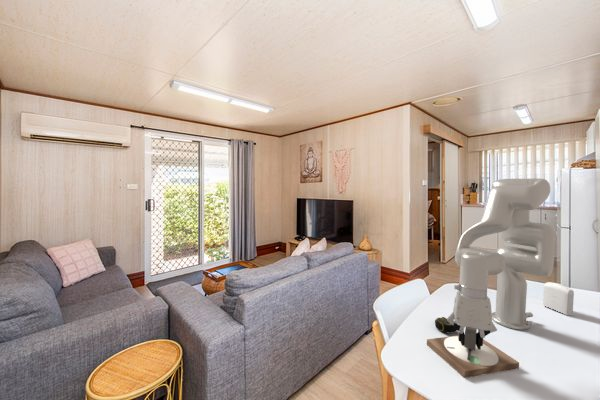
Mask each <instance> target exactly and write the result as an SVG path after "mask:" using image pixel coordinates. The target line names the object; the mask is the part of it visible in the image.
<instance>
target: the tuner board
mask: <svg viewBox="0 0 600 400" xmlns="http://www.w3.org/2000/svg"><path fill="white" fill-rule="evenodd" d="M453 336H454V335H451V336H443V337H434V338H428V339H426V346H427V347H429V348H430V350H432V351H433V352H434V353H435V354H436V355H438V356H439V358H441V359H442V360H443V361H444V362H446V363H447V364H448V365H449V366H450V367H451V368H452V369H454V370H455V371H456V373H458V375H460V376H461V377H462V378H464V379H466V378H473V377H478V376H479V377H480V376H483V375H489V374H496V373H497V374H498V373H502V372H507V371H513V370H519V368H520V362H519V361H518V360H517V359H515V358H513V357H512V356H510V355H509V354H507V353H506V352H504V351H502V350H501V349H499V348H497V347H496V346H495V345H494V344H491V343H490V342H489V341H487V340H485V339H484V338H483V344H485V345H486V346H488V347H490V348H491V349H492V350H493V351H494V352H495V353H496V354H497V356H498V359H499V360H498V363H497V364H495V365H492V366H480V365H475V364H472V363H468V362H466V361H463V360H461V359H459V358H457V357H456V356H454V355H453V354H451V353H450V352H449V351H448V350H447V349H446V347H445V345H444V341H445V339H446V338H448V337H453ZM456 336H459V334H458V335H457V334H456Z"/></svg>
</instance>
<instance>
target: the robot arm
mask: <svg viewBox="0 0 600 400" xmlns="http://www.w3.org/2000/svg"><path fill="white" fill-rule="evenodd" d="M550 194H551V184H550V182H549V181H548V180H547V179H545V178H501V179H496V180H495V181H493V182H492V184H491V189H490V190H489V191H488V195H487V197H486V201H485V203H484V207H483V210H482V214H481V217H480V220H479V221H478V222H476V223H475V224H473V225H471V226H470V227H469V228H467V229H466V230H465V231H464V232H463V233H462V235H460V238H459V241H458V242H457V246H456V249H455V254H454V260H455V263H456V264H457V265H458V266H459V267H460V268H459V283H458V284H454V290H457V292H456V294H455V297H454V303H453V311H452V312H451V314H450V315H449V316H448V317H447V318H446V319H447V321H448V322H449V323H450V324H452V325H453V326H454V327H455V328H456V329H457V331H458V335H459V337H458V339H459V341H460V342H461V345H462V346H464V341H465V329H466V327H469V328H474V329H477V333H476V346H477V348H478V349H479V350H481V346H483V339H484V338H486V336H488V335H490V334H491V333H494V332H497V331H498V328H497V327H496V326H495V324H494V323H496V324H498V325H500V326H503V327H506V328H509V329H513V330H520V331H521V330H522V331H526V330H529V329H530V328H531V327H530V326H531V324H530V323H529V321H528V320H527V319H528V318H533V317H534V314H533V313H532V312H531V311H527V312H526V309H527V293H528V291H527V290H528V283H527V280H526V279H525V277H524V275H523V274H522V273H524V274H527V275H528V274H529V275H532V276H537V277H541V278H542V277H543V278H544V277H545V278H547V277H550V276H551V275H552V273H553V272H554V271H553V270H554V265H555V263H554V262H555V245H556V235H555V229H554V228H553V227H552V226H551V225H549V224H548V223H541V222H533V221H530V211H533V210H534V211H535V210H537V209H539V207H540V206H542V205H543V204H544V202H546V200H548V198H549V196H550ZM499 233H501V238H502V240H503V241H504V242H505V243H509V244H512V245H518V246H525V247H530V248H531V247H532V248H535V249H536V250H535V249H530V248H529V249H528V248H522V247H516V246H509V245H505V246H501V247H499V248H498V249H497V250H496V252H495V251H492V250H487V249H486V250H485V249H481V248H476V247H475V248H474V247H471V245H472V244H473V242H475V241H476V240H478V239H479V238H483V237H485V236H488V235H489V236H490V235H493V234H499ZM489 276H496V277H497V279H496V295H495V296H496V297H495V311H494V312H492V302H491V299H490V298H489V296H488V284H489V283H488V281H489V280H488V279H489ZM493 321H494V322H493Z"/></svg>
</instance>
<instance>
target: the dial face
mask: <svg viewBox="0 0 600 400" xmlns="http://www.w3.org/2000/svg"><path fill="white" fill-rule="evenodd" d="M452 336H453V337H449V336H447V337H448V338H446V339H445V341H444V345H445V347H446V349H447V350H448V351H449V352H450V353H451V354H453V355H454V356H456V357H457V358H459V359H461V360H463V361H466V362H468V363H472V364H475V365H480V366H492V365H495V364H497V363H498V360H499V359H498V356H497V354H496V353H495V352H494V351H493V350H492V349H491V348H490V347H488V346H486V345H485V344H483V346H481V350H479V349H478V348H477V346H476V349H475V350H473V351H471V356H470V360H467V357H468V349H467V348H465V347H464V346H462V345H461V342H460V341H459V339H458V337H459V336H457V335H452Z"/></svg>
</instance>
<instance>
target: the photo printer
mask: <svg viewBox="0 0 600 400" xmlns="http://www.w3.org/2000/svg"><path fill="white" fill-rule="evenodd" d="M574 295H575V292H574V290H573V289H571V288H570V287H568V286H565V285H563V284H561V283H557V282H552V281H551V282H550V281H548V282H545V283H544V285H543V299H542V305H544V306H546V307H545V308H547V307H549V308H551V309H550V310H552V309H554V310H556V311H555V312H557V311H558V312H557V313H559V312H561V313H560V314H562V313H563V314H562V315H565V316H568V315H572V316H573V312H574ZM544 306H543V307H544ZM549 308H548V309H549ZM554 310H553V311H554Z"/></svg>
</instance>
